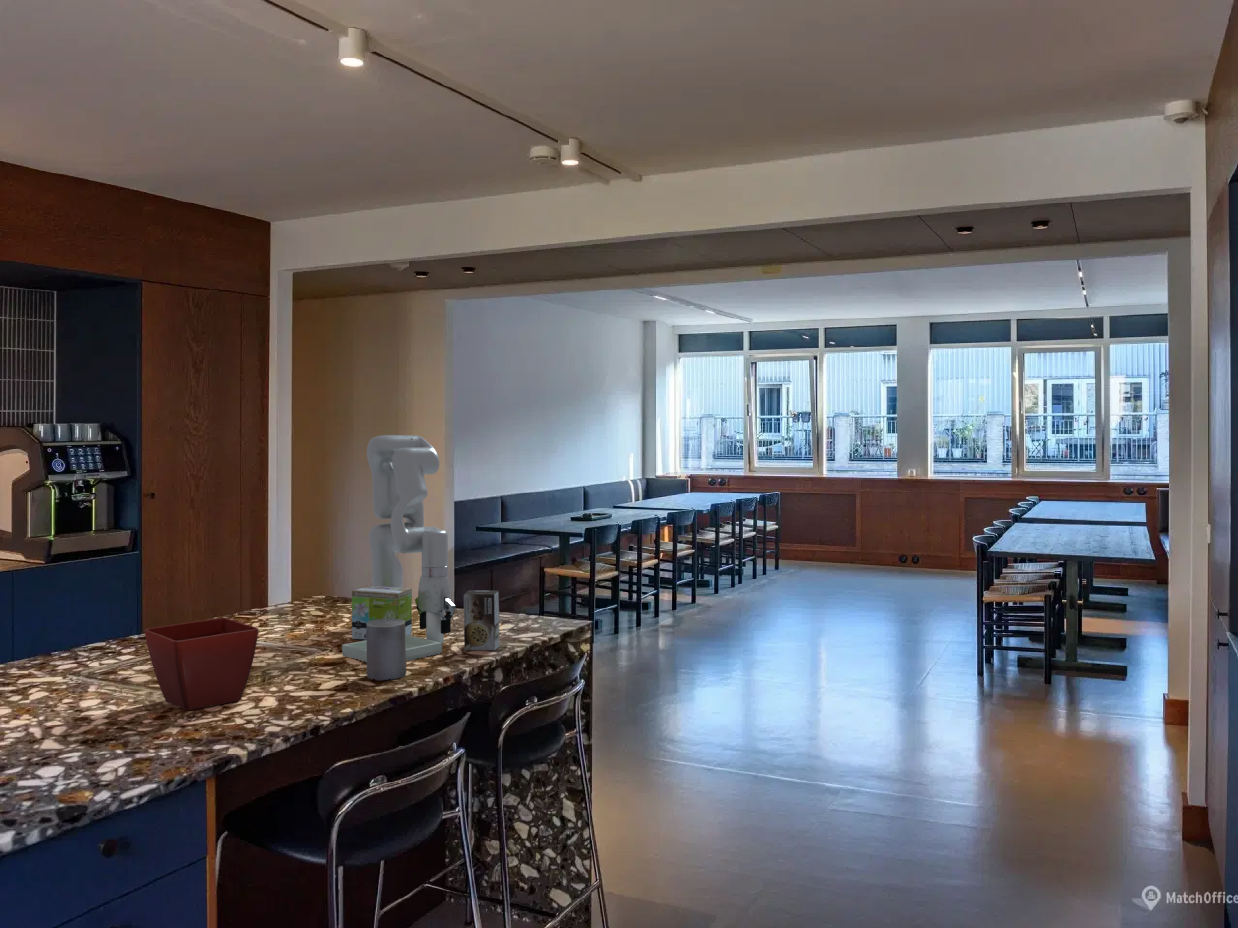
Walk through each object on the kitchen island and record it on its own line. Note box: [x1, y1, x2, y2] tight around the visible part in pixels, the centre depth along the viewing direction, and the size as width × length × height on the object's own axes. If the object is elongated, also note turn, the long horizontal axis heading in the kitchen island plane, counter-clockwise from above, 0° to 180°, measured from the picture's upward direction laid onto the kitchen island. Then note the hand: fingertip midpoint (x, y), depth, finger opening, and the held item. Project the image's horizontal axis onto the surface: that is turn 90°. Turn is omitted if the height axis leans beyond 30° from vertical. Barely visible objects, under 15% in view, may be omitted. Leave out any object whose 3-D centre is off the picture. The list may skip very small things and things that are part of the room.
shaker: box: [425, 611, 445, 643], centre depth 295 cm, size 5×5×12 cm
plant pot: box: [144, 617, 259, 711], centre depth 232 cm, size 19×19×17 cm
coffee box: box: [463, 589, 500, 651], centre depth 288 cm, size 9×6×16 cm
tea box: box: [351, 585, 413, 640], centre depth 300 cm, size 15×10×15 cm, turn 76°
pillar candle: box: [366, 617, 407, 681], centre depth 256 cm, size 10×10×15 cm
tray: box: [341, 634, 443, 663], centre depth 279 cm, size 18×20×3 cm
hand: (435, 630), depth 295 cm, fingers open, 9 cm apart
